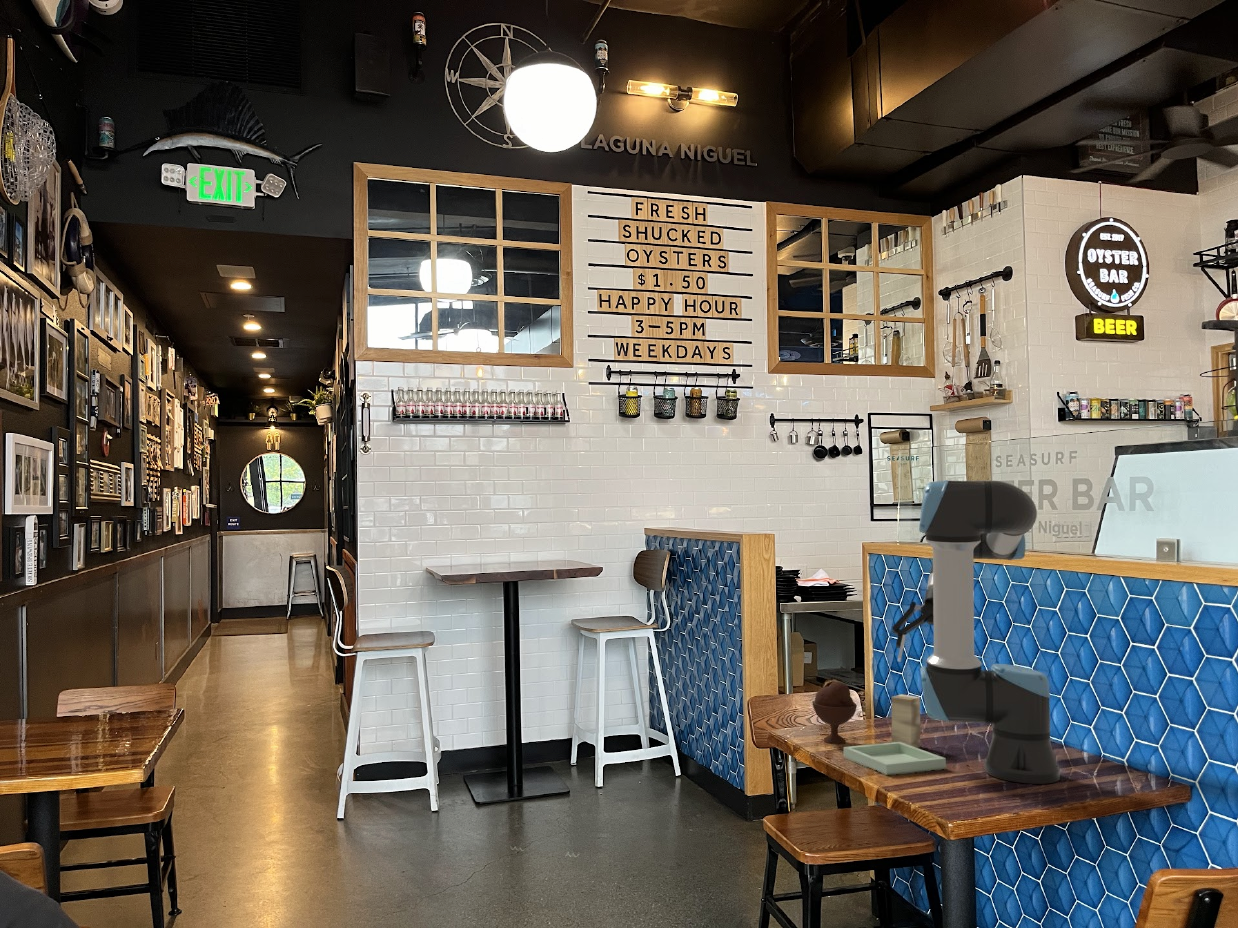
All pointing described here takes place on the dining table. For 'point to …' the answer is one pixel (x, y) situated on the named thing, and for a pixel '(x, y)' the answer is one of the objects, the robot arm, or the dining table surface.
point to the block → (906, 720)
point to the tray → (894, 758)
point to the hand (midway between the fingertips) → (926, 666)
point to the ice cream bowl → (834, 708)
